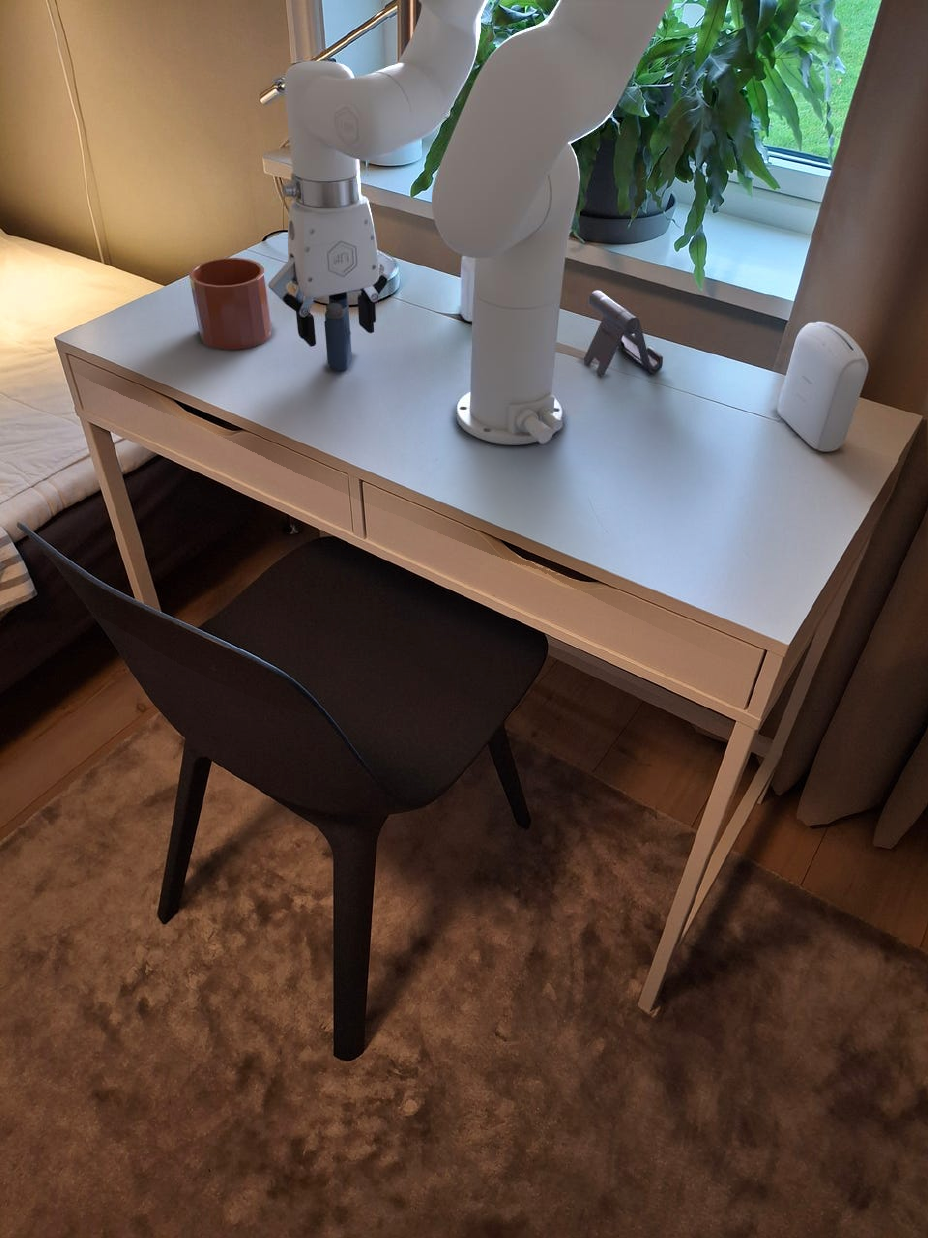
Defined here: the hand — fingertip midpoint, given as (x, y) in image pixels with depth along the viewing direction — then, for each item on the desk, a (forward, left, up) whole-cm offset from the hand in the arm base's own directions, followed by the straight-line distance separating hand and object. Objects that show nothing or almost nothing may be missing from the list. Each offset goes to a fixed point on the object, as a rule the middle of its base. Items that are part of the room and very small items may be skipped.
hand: (338, 334), depth 117 cm
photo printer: (-41, -42, -4) cm, 59 cm away
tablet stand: (-17, -32, -4) cm, 36 cm away
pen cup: (+14, +9, -4) cm, 17 cm away
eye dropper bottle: (+3, -23, -4) cm, 24 cm away
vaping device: (0, 0, -4) cm, 4 cm away
